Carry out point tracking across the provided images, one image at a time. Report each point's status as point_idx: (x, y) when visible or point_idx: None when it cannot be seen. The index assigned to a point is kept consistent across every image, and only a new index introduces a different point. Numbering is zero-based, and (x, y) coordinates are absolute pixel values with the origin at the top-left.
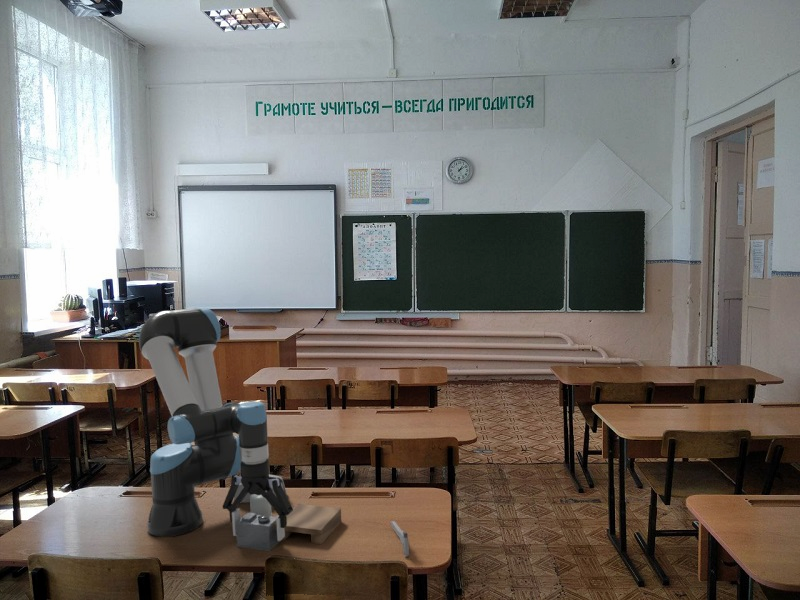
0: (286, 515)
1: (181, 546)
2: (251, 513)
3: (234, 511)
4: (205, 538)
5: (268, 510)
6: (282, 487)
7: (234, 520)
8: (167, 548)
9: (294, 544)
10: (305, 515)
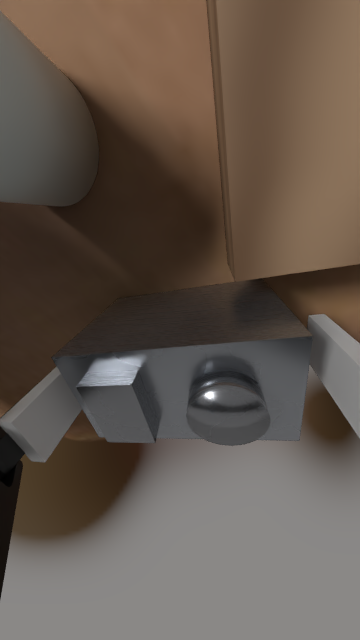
0: (239, 92)
1: (23, 393)
2: (102, 391)
3: (27, 450)
4: (22, 349)
5: (33, 99)
6: None
7: (74, 419)
8: (11, 405)
9: (346, 275)
10: None
